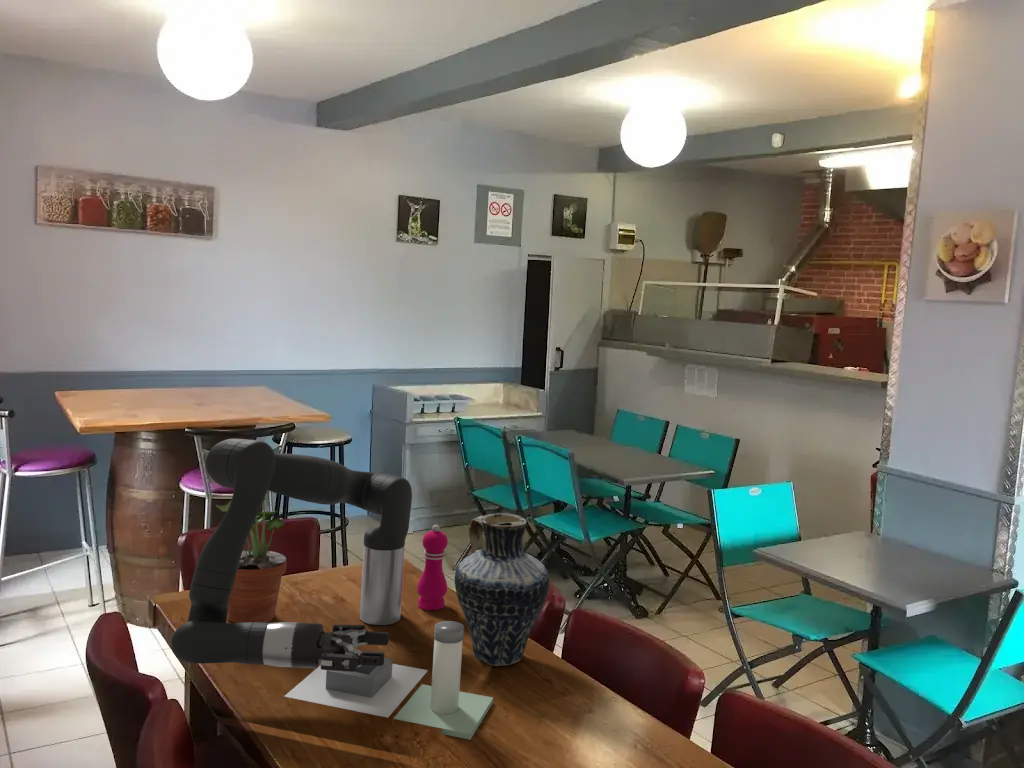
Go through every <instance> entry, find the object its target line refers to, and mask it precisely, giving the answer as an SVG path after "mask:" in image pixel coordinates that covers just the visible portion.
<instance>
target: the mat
mask: <svg viewBox="0 0 1024 768" xmlns="http://www.w3.org/2000/svg"><path fill="white" fill-rule="evenodd" d="M431 689H432V685H428V684H423V683H421V684H420V686H419V687H418V688H417V690H415V692H414V693H413V694H412V696H411V697H410V698H409V699H408V700H407V702H406V703H405V704H404V705H403V706H402V708H401V709H400V710H399V711H398V712H397V713H396V715H395V716H394V717H393V720H399V721H402V722H408V723H411V724H412V723H414V724H418V725H421V726H427V727H432V728H438V729H441V731H440V732H439V734H440V735H446V736H450V737H454V738H455V737H456V738H460V739H466V740H471V739H472V738H473V737H474V735H475V733H476V732H477V730H478V728H479V726H480V725H481V724H482V721H483V720H484V718H485V716H486V715H487V713H488V711H489V710H490V708H491V707H492V705H493V703H494V697H492V696H486V695H481V694H476V693H471V692H465V691H459V706H458V710H457V711H456V712H455V713H452V714H446V715H444V714H438V713H435V712H433V711H432V710H431V708H430V706H431Z"/></svg>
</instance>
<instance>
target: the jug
mask: <svg viewBox="0 0 1024 768" xmlns="http://www.w3.org/2000/svg"><path fill="white" fill-rule="evenodd" d="M526 527H527V519H526V518H525V517H524V516H521V515H518V514H513V513H511V512H496V513H491V514H490V513H489V514H485V515H480V516H477V517H475V518H471V522H470V524H469V527H468V536H469V540H470V541H469V542H470V546H471V554H470V555H468V556H466V557H464V559H462V560H461V561H460V562H459V564H458V565H457V567H456V570H455V573H454V587H455V593H456V597H457V601H458V604H459V606H460V608H461V611H462V612H463V613H462V614H463V616H464V620H465V623H466V626H467V628H468V629H467V630H468V633H469V636H470V639H471V643H472V652H473V657H475V658H476V659H477V660H479V661H481V662H483V663H487V665H488V666H494V667H501V666H509V665H513V664H516V663H519V662H520V661H521V660H522V658H523V655H524V654H525V650H526V646H527V644H528V643H527V642H528V639H529V636H530V634H531V632H532V629H533V628H534V625H535V623H536V621H537V618H538V617H539V615H540V613H541V611H542V609H543V607H544V604H545V601H546V598H547V596H548V592H549V589H550V575H549V571H548V570H547V568H546V566H545V565H544V564H543V563H542V562H541V561H540V560H539V559H537V558H535V557H534V556H533V555H530V554H528V553H527V552H525V549H524V545H523V537H524V535H525V530H526ZM483 534H484V536H483Z"/></svg>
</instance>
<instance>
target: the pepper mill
mask: <svg viewBox="0 0 1024 768" xmlns="http://www.w3.org/2000/svg"><path fill="white" fill-rule="evenodd" d="M431 528H432V529H431V530H429V531H428V532H426V533H425V534H424V535H423V537H422V546H423V548H424V551H423V553H424V554H423V558H424V559H425V562H424V563H425V564H424V570H423V571H422V574H421V576H420V577H419V579H418V582H417V587H416V592H417V593H418V595H419V597H418V600H417V601H418V602H417V603H418V604H417V605H418V608H419V607H420V608H419V609H421V608H422V609H421V610H423V609H425V610H424V611H429V610H436V611H439V610H438V609H440V610H442V609H444V608H445V598H444V596H445V595H446V594H447V593H448V583H447V579H446V576H445V575H444V570H443V561H444V558H445V557H446V556H445V554H446V552H445V550H446V548H447V546H448V545H449V544H448V543H449V542H448V537H447V535H446V533H444V532H443V531H441V530H440V528H441V527H440V526H439V525H438V524H434V525H433V526H432V527H431ZM441 608H442V609H441Z"/></svg>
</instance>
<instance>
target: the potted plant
mask: <svg viewBox="0 0 1024 768" xmlns="http://www.w3.org/2000/svg"><path fill="white" fill-rule="evenodd" d="M269 492H270V491H267V493H269ZM266 496H267V494H266V495H265V498H264V500H263V502H264V505H263V511H259V512H258V514H257V517H256V519H255V521H254V524H253V526H252V528H251V531H250V533H249V535H250V540H251V544H250V542H249V539H248V538H247V540H246V543H247V546H248V547H247V548H248V550H243V551H242V554H241V558H240V561H239V565H238V569H237V573H236V577H235V581H234V584H233V588H232V592H231V595H230V598H229V602H228V613H227V619H228V620H229V621H230V622H231V623H233V624H236V623H244V622H261V623H271V621H272V620H273V619H274V618H275V615H276V611H277V606H278V600H279V593H280V588H281V583H282V576H284V575H285V573H286V572H287V562H288V561H287V557H286V556H285V555H284V554H282V553H280V552H276V551H273V550H272V551H271V550H268V549H269V548H270V547H271V543H272V538H273V534H274V531H275V529H276V530H277V531H279V530H280V529H281V528H283V526H285V522H284V521H283V520H282V519H280V518H278V517H274V516H275V515H276V513H277V511H276V510H270V511H266V502H265V501H266V500H267V499H268V498H269V496H267V497H266ZM263 502H262V504H263ZM230 503H231V500H230V501H229V502H228V503H227V504H224V505H218V504H217V503H215V506H216V508H217V509H219V510H220V511H221V512H227V511H228V509H229V506H230ZM260 517H261V518H260ZM266 521H267V524H266ZM261 522H262V525H261V536H260V535H259V526H258V523H261ZM265 524H266V525H265ZM265 527H266V529H265ZM266 530H267V531H271V530H272V532H271V535H270V538H269V541H268V543H267V545H266V534H265V533H266ZM259 536H260V537H261V538H260V537H259ZM251 545H252V549H251Z"/></svg>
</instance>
